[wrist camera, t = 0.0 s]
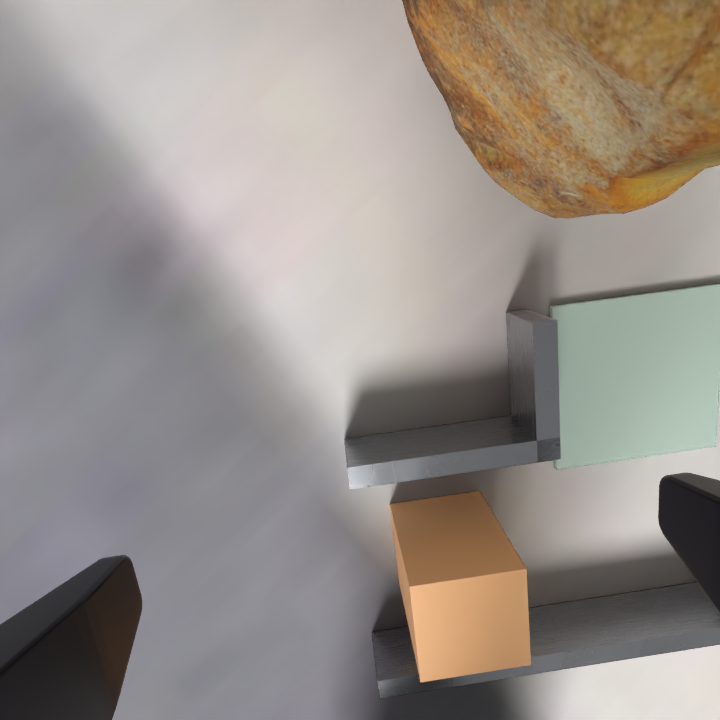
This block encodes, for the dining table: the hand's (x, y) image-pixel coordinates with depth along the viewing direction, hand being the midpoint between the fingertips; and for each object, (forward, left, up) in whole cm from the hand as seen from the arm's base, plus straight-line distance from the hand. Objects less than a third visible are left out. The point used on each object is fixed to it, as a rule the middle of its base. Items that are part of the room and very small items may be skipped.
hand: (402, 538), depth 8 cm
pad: (-3, -13, -15) cm, 20 cm away
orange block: (-10, -3, -15) cm, 18 cm away
